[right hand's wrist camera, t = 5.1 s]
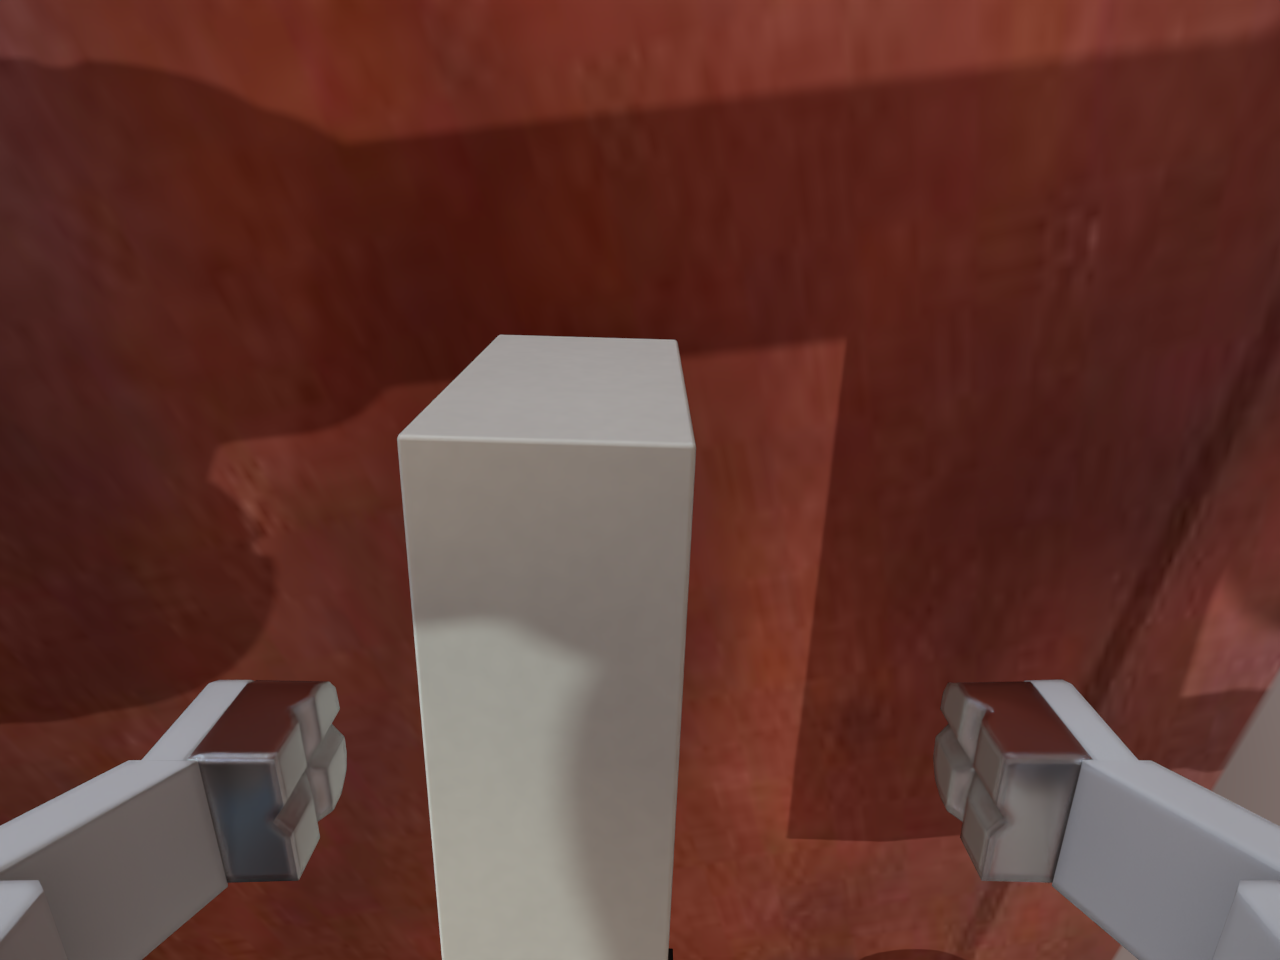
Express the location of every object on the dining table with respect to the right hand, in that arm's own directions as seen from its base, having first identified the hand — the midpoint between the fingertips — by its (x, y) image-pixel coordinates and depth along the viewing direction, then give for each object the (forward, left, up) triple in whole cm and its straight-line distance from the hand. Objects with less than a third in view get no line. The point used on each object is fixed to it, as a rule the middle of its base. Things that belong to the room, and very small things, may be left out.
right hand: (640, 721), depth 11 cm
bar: (+7, +8, -12) cm, 16 cm away
